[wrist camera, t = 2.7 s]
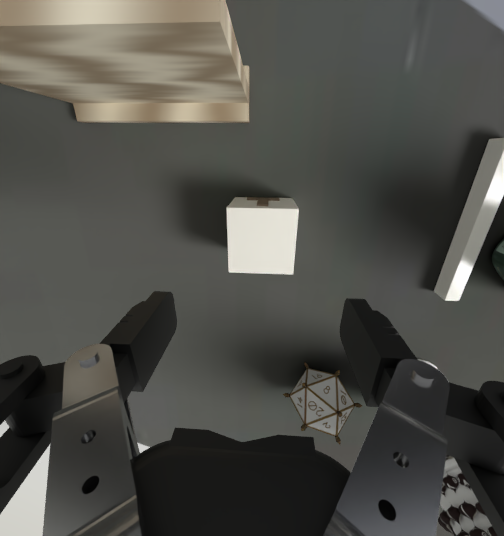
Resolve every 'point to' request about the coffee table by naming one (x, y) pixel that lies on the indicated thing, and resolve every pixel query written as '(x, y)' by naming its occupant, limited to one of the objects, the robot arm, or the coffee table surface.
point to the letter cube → (262, 235)
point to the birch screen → (127, 59)
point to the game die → (322, 401)
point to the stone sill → (473, 222)
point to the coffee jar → (499, 258)
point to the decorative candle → (461, 503)
